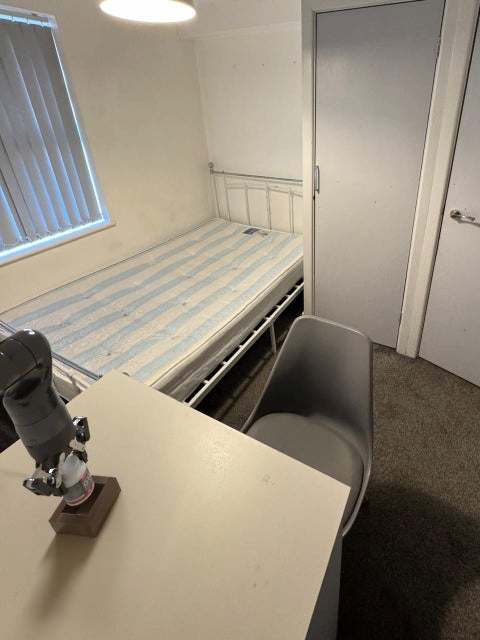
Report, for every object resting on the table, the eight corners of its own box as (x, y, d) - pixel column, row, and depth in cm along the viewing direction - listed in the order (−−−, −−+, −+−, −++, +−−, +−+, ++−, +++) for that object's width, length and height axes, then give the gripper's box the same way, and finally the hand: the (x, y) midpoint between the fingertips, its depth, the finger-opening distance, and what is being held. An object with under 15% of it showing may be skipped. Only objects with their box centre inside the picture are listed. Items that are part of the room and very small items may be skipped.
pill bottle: (96, 495, 69) (83, 467, 65) (66, 512, 67) (50, 485, 63) (93, 473, 73) (80, 446, 69) (65, 489, 71) (50, 461, 66)
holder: (55, 533, 69) (47, 521, 67) (85, 486, 78) (79, 473, 75) (95, 537, 68) (89, 525, 66) (121, 489, 77) (116, 477, 75)
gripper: (56, 391, 67) (80, 442, 75) (-9, 462, 54) (27, 516, 62) (89, 393, 67) (110, 445, 74) (32, 466, 54) (64, 520, 61)
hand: (72, 477), depth 68 cm, fingers closed on pill bottle, 5 cm apart
